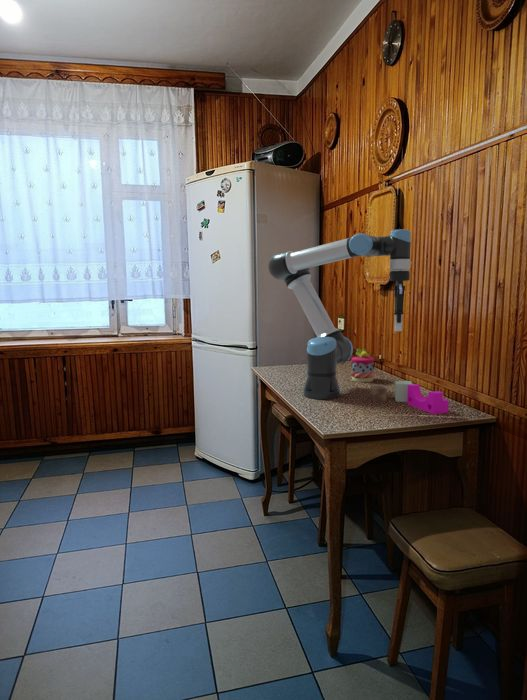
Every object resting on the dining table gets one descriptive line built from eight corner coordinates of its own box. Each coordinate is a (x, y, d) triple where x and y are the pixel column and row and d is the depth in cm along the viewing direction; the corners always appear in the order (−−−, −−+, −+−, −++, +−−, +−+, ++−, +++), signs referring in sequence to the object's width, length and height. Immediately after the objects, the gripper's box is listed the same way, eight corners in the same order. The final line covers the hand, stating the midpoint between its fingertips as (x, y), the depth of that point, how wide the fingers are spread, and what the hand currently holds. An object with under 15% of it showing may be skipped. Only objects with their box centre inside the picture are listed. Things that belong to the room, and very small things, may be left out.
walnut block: (373, 401, 181) (373, 388, 180) (370, 398, 186) (370, 386, 185) (386, 401, 181) (386, 388, 180) (383, 398, 186) (383, 386, 185)
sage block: (395, 401, 180) (396, 383, 179) (394, 398, 186) (395, 380, 185) (412, 402, 179) (412, 384, 178) (410, 398, 185) (410, 381, 184)
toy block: (448, 412, 164) (449, 392, 163) (433, 414, 162) (434, 393, 161) (421, 402, 178) (421, 383, 177) (407, 404, 176) (407, 384, 175)
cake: (378, 382, 216) (379, 350, 214) (360, 384, 211) (360, 351, 209) (364, 378, 225) (364, 347, 223) (346, 380, 221) (346, 349, 219)
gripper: (411, 269, 175) (410, 332, 178) (407, 270, 187) (406, 329, 191) (391, 270, 176) (389, 332, 179) (388, 271, 189) (387, 329, 192)
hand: (398, 330), depth 185 cm, fingers closed
